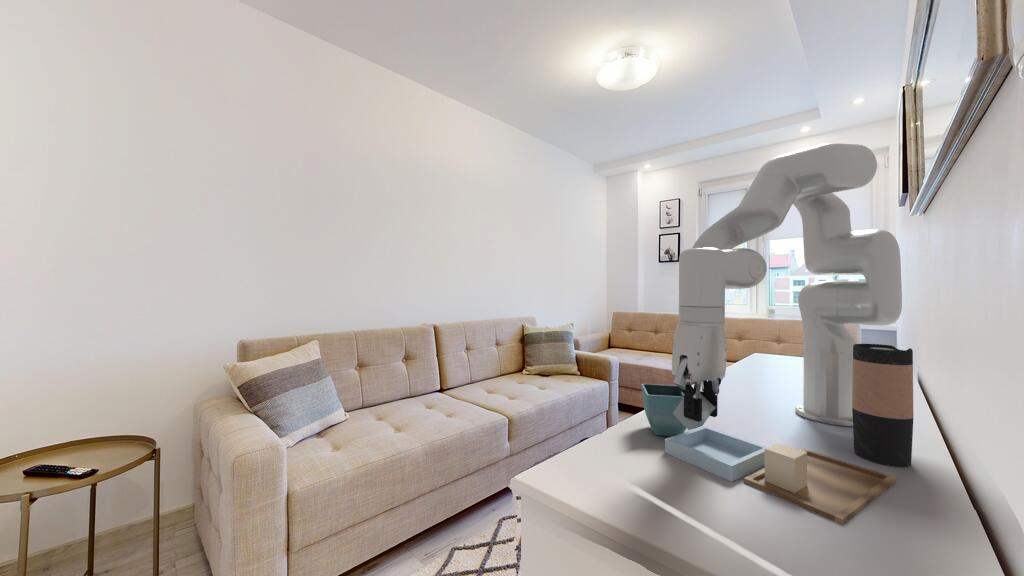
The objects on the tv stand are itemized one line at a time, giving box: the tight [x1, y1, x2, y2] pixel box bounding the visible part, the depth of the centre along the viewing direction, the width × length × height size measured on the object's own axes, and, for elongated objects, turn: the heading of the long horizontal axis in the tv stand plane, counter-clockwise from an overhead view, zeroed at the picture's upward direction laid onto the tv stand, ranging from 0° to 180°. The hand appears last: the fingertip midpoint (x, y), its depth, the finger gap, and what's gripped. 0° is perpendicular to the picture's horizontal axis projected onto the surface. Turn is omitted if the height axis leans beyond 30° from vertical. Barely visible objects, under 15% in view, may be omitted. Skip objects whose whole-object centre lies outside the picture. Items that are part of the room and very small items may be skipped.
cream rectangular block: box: [764, 442, 807, 493], centre depth 58 cm, size 4×4×5 cm
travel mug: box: [852, 343, 914, 469], centre depth 66 cm, size 8×8×20 cm
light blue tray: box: [664, 425, 767, 483], centre depth 66 cm, size 12×12×3 cm
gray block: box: [673, 393, 716, 431], centre depth 70 cm, size 4×4×5 cm
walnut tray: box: [743, 448, 897, 525], centre depth 58 cm, size 20×12×1 cm, turn 121°
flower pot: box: [640, 383, 687, 437], centre depth 79 cm, size 9×9×9 cm
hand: (700, 415), depth 69 cm, fingers closed on gray block, 3 cm apart
